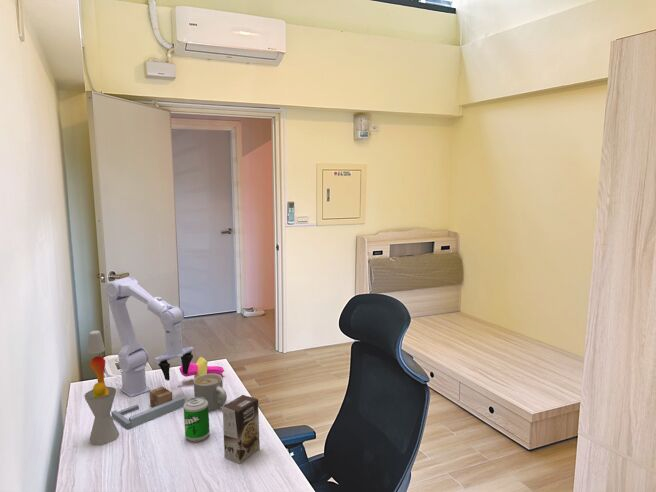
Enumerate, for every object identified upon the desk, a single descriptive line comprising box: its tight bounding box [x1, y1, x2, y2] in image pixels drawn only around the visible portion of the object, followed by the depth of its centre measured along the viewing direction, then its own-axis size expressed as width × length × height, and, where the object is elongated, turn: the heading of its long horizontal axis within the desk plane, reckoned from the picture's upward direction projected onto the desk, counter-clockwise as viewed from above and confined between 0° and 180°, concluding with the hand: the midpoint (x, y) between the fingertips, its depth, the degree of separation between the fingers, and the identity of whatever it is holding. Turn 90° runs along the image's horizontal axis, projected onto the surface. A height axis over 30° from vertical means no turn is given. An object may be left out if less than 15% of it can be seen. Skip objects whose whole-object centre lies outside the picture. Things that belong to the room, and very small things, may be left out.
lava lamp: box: [83, 330, 120, 446], centre depth 148 cm, size 9×9×35 cm
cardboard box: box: [148, 386, 174, 408], centre depth 170 cm, size 7×5×7 cm
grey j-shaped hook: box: [110, 396, 186, 430], centre depth 167 cm, size 12×21×3 cm, turn 137°
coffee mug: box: [193, 374, 227, 413], centre depth 169 cm, size 13×10×10 cm
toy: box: [179, 356, 225, 379], centre depth 192 cm, size 10×18×10 cm, turn 122°
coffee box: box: [222, 394, 261, 464], centre depth 140 cm, size 9×6×16 cm
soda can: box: [182, 397, 211, 443], centre depth 150 cm, size 8×8×12 cm
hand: (176, 376), depth 173 cm, fingers open, 7 cm apart
